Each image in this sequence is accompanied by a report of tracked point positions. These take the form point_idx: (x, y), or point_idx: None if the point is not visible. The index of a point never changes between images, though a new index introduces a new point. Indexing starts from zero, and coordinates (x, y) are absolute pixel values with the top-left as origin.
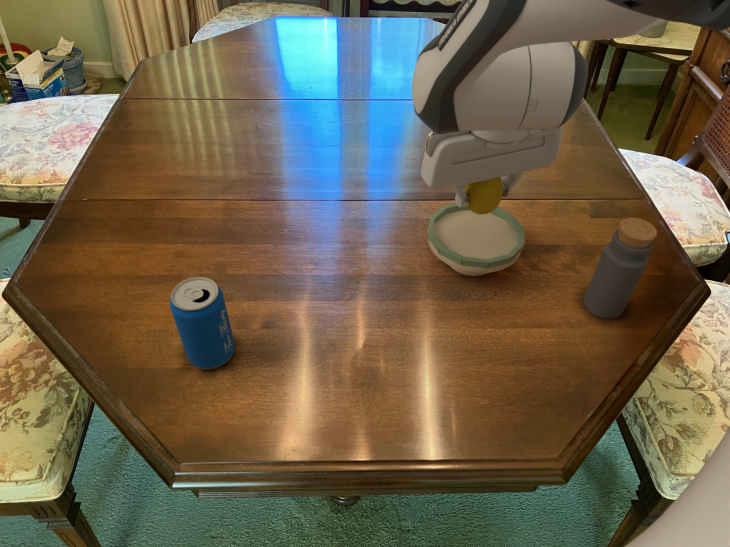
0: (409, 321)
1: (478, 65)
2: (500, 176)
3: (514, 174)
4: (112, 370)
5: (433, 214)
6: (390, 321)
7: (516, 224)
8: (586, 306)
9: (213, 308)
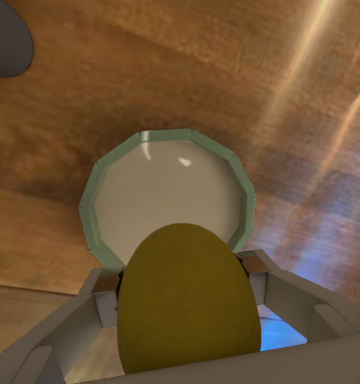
0: (293, 113)
1: None
2: (153, 379)
3: (35, 377)
4: None
5: None
6: (313, 121)
7: (89, 217)
8: (30, 42)
9: None
